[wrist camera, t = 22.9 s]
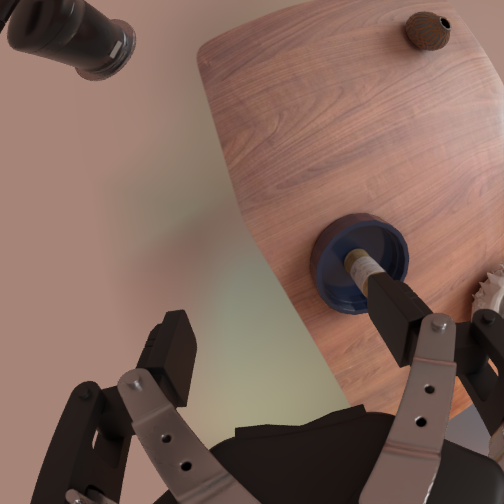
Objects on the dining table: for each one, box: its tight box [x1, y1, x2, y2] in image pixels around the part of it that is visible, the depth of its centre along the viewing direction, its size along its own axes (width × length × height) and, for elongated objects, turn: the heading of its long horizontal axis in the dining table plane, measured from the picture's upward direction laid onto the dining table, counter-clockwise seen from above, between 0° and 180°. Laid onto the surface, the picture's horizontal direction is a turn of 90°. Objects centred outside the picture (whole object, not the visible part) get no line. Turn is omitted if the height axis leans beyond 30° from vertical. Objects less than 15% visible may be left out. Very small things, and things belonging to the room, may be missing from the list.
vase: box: [406, 12, 451, 51], centre depth 25 cm, size 7×7×9 cm
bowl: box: [471, 264, 504, 321], centre depth 44 cm, size 21×20×10 cm
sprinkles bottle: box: [344, 249, 385, 298], centre depth 37 cm, size 5×4×13 cm
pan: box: [311, 213, 409, 315], centre depth 42 cm, size 16×16×4 cm
